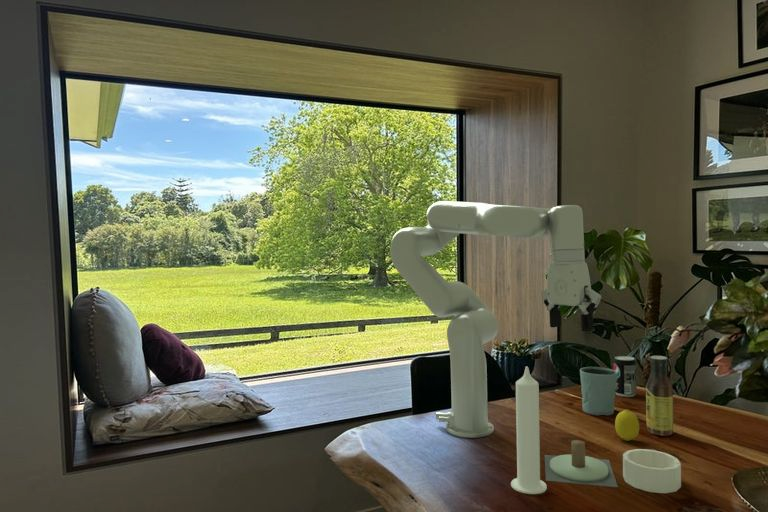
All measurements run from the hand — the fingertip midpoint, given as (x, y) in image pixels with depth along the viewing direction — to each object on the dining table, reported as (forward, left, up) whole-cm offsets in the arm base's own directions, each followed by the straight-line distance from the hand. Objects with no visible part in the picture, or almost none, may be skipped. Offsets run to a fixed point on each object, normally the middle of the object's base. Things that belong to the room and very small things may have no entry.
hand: (571, 328), depth 129 cm
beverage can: (+19, +52, -30) cm, 63 cm away
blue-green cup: (+9, +33, -30) cm, 45 cm away
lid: (0, -12, -29) cm, 31 cm away
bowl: (+14, -15, -29) cm, 36 cm away
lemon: (+13, +9, -30) cm, 34 cm away
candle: (-10, -22, -30) cm, 38 cm away
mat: (0, -12, -29) cm, 32 cm away
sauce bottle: (+22, +17, -30) cm, 41 cm away
